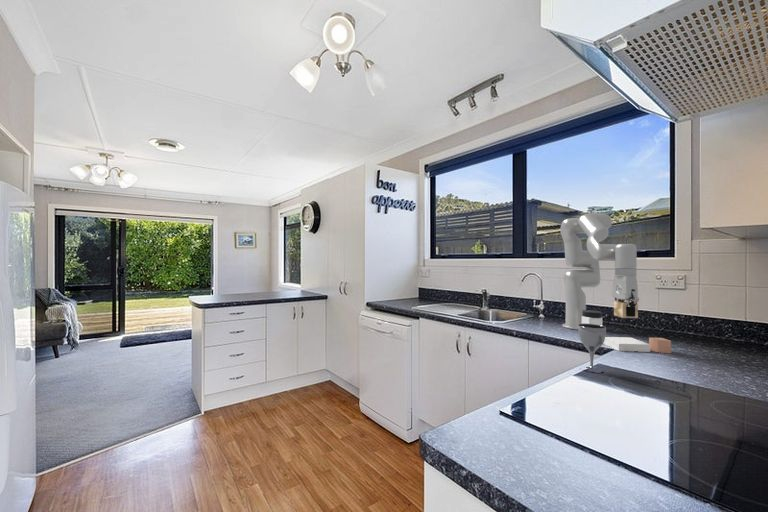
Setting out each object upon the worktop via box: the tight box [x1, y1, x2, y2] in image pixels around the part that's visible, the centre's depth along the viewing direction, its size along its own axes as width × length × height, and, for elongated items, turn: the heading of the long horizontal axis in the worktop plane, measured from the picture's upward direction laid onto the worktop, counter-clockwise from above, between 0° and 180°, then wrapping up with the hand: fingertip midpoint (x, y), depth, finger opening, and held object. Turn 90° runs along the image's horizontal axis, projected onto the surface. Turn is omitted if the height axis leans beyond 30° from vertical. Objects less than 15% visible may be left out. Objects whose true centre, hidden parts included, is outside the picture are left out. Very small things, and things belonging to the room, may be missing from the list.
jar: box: [582, 309, 603, 326], centre depth 162 cm, size 9×8×12 cm
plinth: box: [603, 336, 651, 353], centre depth 141 cm, size 12×12×3 cm
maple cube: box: [613, 301, 639, 319], centre depth 141 cm, size 6×6×6 cm
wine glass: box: [578, 323, 607, 369], centre depth 112 cm, size 8×8×15 cm
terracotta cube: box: [648, 337, 672, 354], centre depth 136 cm, size 5×5×5 cm
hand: (625, 314), depth 141 cm, fingers closed on maple cube, 6 cm apart
